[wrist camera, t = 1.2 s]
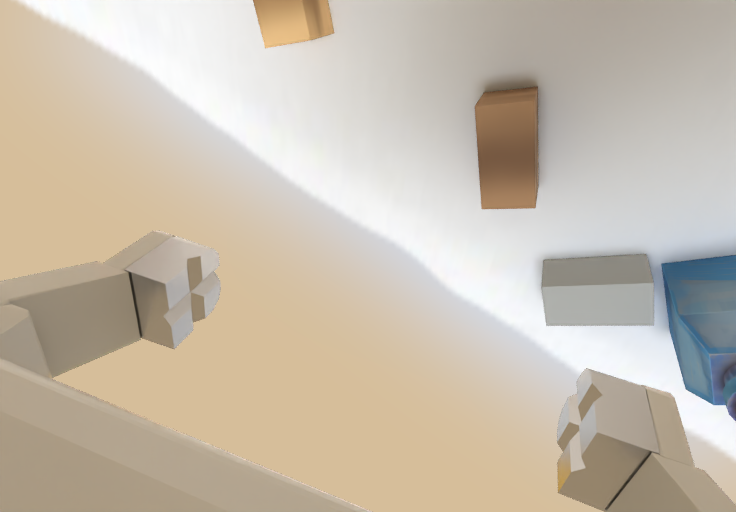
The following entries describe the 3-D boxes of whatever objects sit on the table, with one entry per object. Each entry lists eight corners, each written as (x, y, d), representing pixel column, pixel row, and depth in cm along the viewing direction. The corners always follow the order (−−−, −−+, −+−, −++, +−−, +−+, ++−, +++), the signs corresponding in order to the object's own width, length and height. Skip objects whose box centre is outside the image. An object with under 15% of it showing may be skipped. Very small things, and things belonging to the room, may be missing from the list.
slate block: (646, 252, 34) (653, 282, 31) (646, 292, 36) (654, 325, 33) (543, 259, 37) (541, 286, 34) (548, 295, 39) (546, 325, 36)
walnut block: (484, 92, 33) (474, 106, 29) (537, 86, 31) (534, 100, 28) (489, 187, 36) (481, 209, 33) (538, 185, 34) (535, 208, 31)
